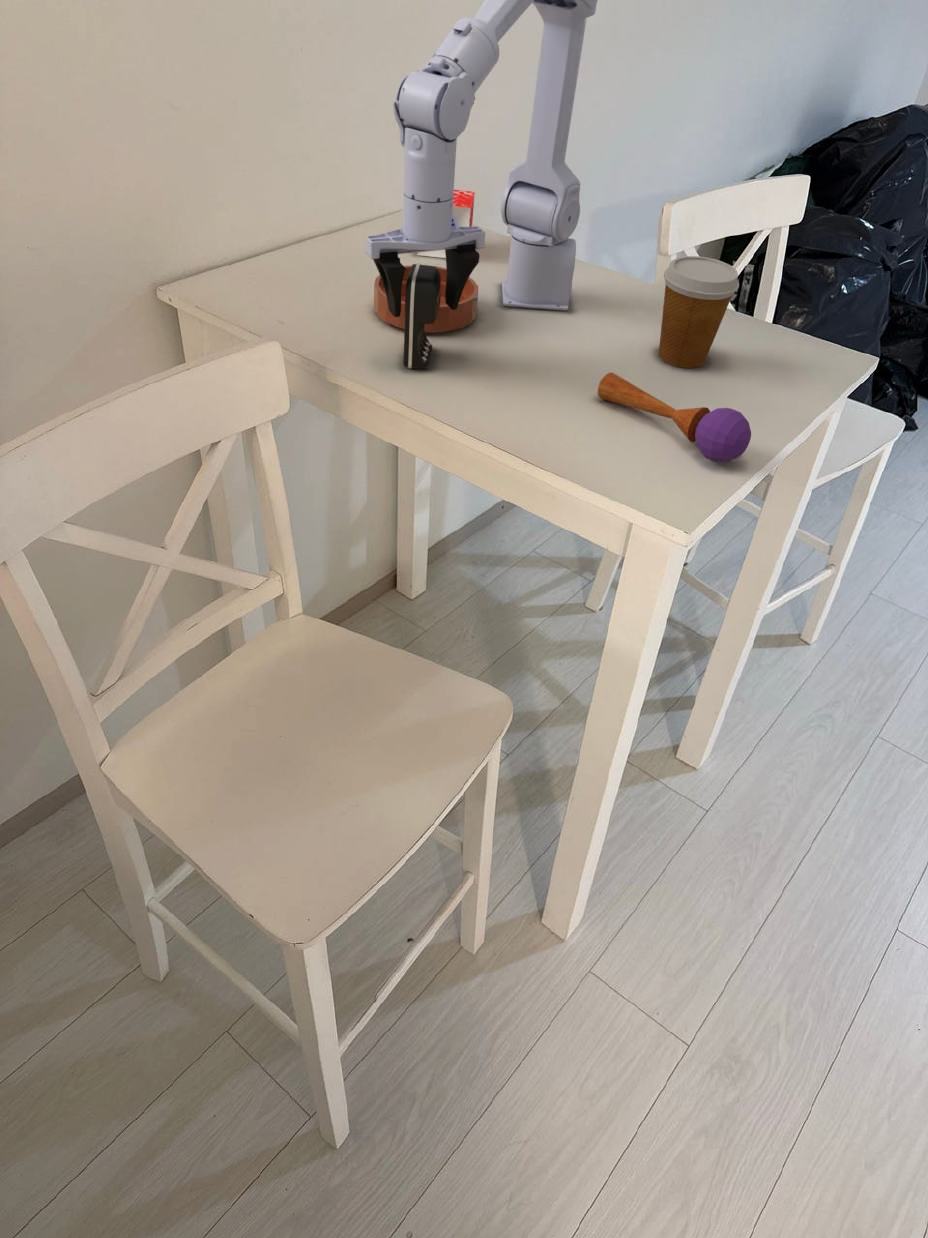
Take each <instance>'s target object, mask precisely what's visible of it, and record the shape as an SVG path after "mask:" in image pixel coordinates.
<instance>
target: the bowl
mask: <svg viewBox="0 0 928 1238" xmlns="http://www.w3.org/2000/svg"><path fill="white" fill-rule="evenodd" d="M403 266H404V267H405V272H404V277H403V282H402V290H401V314H400V317H394V316H393V315H392V314H391V313H390V311H389V307H388V301H387V296H386V292H385V288H384V285H383V282H382V279H381V276H380V274H379V275H377V276H376V277H375V279H374V284H373V285H374V286H373V310H374V312H375V314H376V315H377V317H378V318H380V319H381V320H383V321H384V322H385V323H387V324H389V325H392V326H394V327H397V328H399V329H403V330H404V326H405V294H406V282H407V277H408V274H409V271H410V268H411V266H412V265H403ZM433 266H434V267H436V268H437V269H438V270H439V271H440V275H441V298H440V307H439V309H438V314H437V318H436V320H435V322H434V323H432V324H425V327H424V331H425V333H444V332H445V333H446V332H450V331H451V332H452V331H455V330H460V329H463V328H465V327H466V326H468V325H470V324H472V323H473V321H474V320H475V318H477V314H478V313H477V312H478V301H479V285H478V284H477V282H476V281H475V279H473V278H471V277H470V276H469V278H468V280H467V282H466V284H465V287H464V289H463V292H462V294H461V297H460V300H459V303H458V307H457V309H456V310H452V309H451V308H450V307H449V306H448V305H447V304H446V302H445V290H446V276H447V271H446V267H443V266H437V265H433Z"/></svg>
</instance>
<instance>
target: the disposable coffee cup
mask: <svg viewBox="0 0 928 1238" xmlns="http://www.w3.org/2000/svg"><path fill="white" fill-rule="evenodd" d="M738 277H739V273H738V270H737V269H736V268H735V267H733V266H732V265H731V264H729V263H726V262H724V261H722V260H719V259H717V258H711V257H707V256H699V255H685V256H679V257H676V258H675V259H672V260H671V261H670V263H669V265H668V266H667V268H666V269H665V270H664V271H663V278H664V283H665V287H664V297H663V307H662V316H661V326H660V334H659V335H660V337H659V345H658V346H659V347H658V357H659V358H660V359H661V360H662V361H663V362H664V363H666V364H668V365H671V366H674V367H677V368H678V367H679V368H682V369H683V368H684V369H694V368H699V367H701V366H703V365H704V364H705V363H706V360H707V357H708V355H709V352H710V350H711V348H712V346H713V343H714V342H715V338H716V336H717V334H718V332H719V331H718V330H719V329H720V326H721V323H722V321H723V319H724V316H725V314H726V312H727V309H728V307H729V304H730V302H731V299H732V298H733V296H734V295H735V293H736V291H737V290H738V289H739V288H740V282H739V280H738V279H739V278H738Z"/></svg>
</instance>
